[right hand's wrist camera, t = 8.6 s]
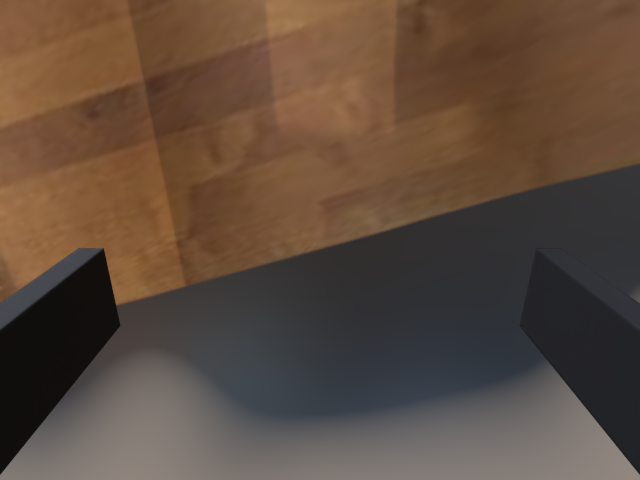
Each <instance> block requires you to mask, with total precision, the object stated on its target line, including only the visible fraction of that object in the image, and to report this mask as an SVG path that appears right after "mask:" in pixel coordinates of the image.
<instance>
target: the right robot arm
mask: <svg viewBox="0 0 640 480" xmlns="http://www.w3.org/2000/svg"><path fill="white" fill-rule="evenodd" d="M119 327H120V322H119V317H118V313H117V308H116V303H115V299H114V294H113V289H112V285H111V280H110V275H109V271H108V266H107V262H106V257H105V252H104V248H78V249H77V250H76V251H74V252H73V253H71V254H70V255H68V256H67V257H66V258H64V259H63V260H61V261H60V262H59V263H57V264H56V265H54V266H53V267H51V268H50V269H49V270H47V271H46V272H44V273H43V274H42V275H40V276H39V277H37V278H36V279H34V280H33V281H32V282H30V283H29V284H27V285H26V286H25V287H23V288H22V289H20V290H19V291H17V292H16V293H15V294H13V295H12V296H10V297H9V298H8V299H6V300H5V301H3V302H2V303H0V474H1V473H2V472H3V471H4V469H5V468H6V467H7V466H8V464H9V463H10V462H11V461H12V459H13V458H14V457H15V456H16V454H17V453H18V452H19V451H20V449H21V448H22V447H23V446H24V445H25V443H26V442H27V441H28V440H29V438H30V437H31V436H32V435H33V433H34V432H35V431H36V430H37V428H38V427H39V426H40V425H41V423H42V422H43V421H44V420H45V418H46V417H47V416H48V415H49V413H50V412H51V411H52V410H53V409H54V407H55V406H56V405H57V404H58V402H59V401H60V400H61V399H62V397H63V396H64V395H65V394H66V392H67V391H68V390H69V389H70V387H71V386H72V385H73V384H74V383H75V381H76V380H77V379H78V378H79V376H80V375H81V374H82V373H83V371H84V370H85V369H86V368H87V366H88V365H89V364H90V363H91V361H92V360H93V359H94V358H95V356H96V355H97V354H98V353H99V352H100V350H101V349H102V348H103V347H104V345H105V344H106V343H107V342H108V340H109V339H110V338H111V337H112V335H113V334H114V333H115V332H116V330H117V329H118V328H119ZM520 327H521V328H522V329H523V330H524V332H525V333H526V334H527V335H528V337H529V338H530V339H531V340H532V342H533V343H534V344H535V345H536V347H537V348H538V349H539V350H540V352H541V353H542V354H543V355H544V356H545V358H546V359H547V360H548V361H549V363H550V364H551V365H552V366H553V368H554V369H555V370H556V371H557V373H558V374H559V375H560V376H561V377H562V379H563V380H564V381H565V383H566V384H567V385H568V386H569V387H570V389H571V390H572V391H573V392H574V394H575V395H576V396H577V397H578V399H579V400H580V401H581V402H582V404H583V405H584V406H585V407H586V409H587V410H588V411H589V412H590V414H591V415H592V416H593V417H594V418H595V420H596V421H597V422H598V423H599V425H600V426H601V427H602V428H603V430H604V431H605V432H606V433H607V435H608V436H609V437H610V438H611V440H612V441H613V442H614V443H615V444H616V446H617V447H618V448H619V449H620V451H621V452H622V453H623V454H624V456H625V457H626V458H627V459H628V461H629V462H630V463H631V464H632V466H633V467H634V468H635V469H636V470H637V472H638V473H639V474H640V303H638V302H637V301H635V300H634V299H632V298H631V297H630V296H628V295H627V294H625V293H624V292H622V291H621V290H620V289H618V288H617V287H615V286H614V285H613V284H611V283H610V282H608V281H607V280H606V279H604V278H603V277H601V276H600V275H598V274H597V273H596V272H594V271H593V270H591V269H590V268H588V267H587V266H586V265H584V264H583V263H581V262H580V261H579V260H577V259H576V258H574V257H573V256H572V255H570V254H569V253H567V252H566V251H564V250H563V249H561V248H537V249H536V252H535V257H534V262H533V266H532V271H531V275H530V280H529V285H528V289H527V294H526V299H525V303H524V308H523V313H522V317H521V322H520Z"/></svg>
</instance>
